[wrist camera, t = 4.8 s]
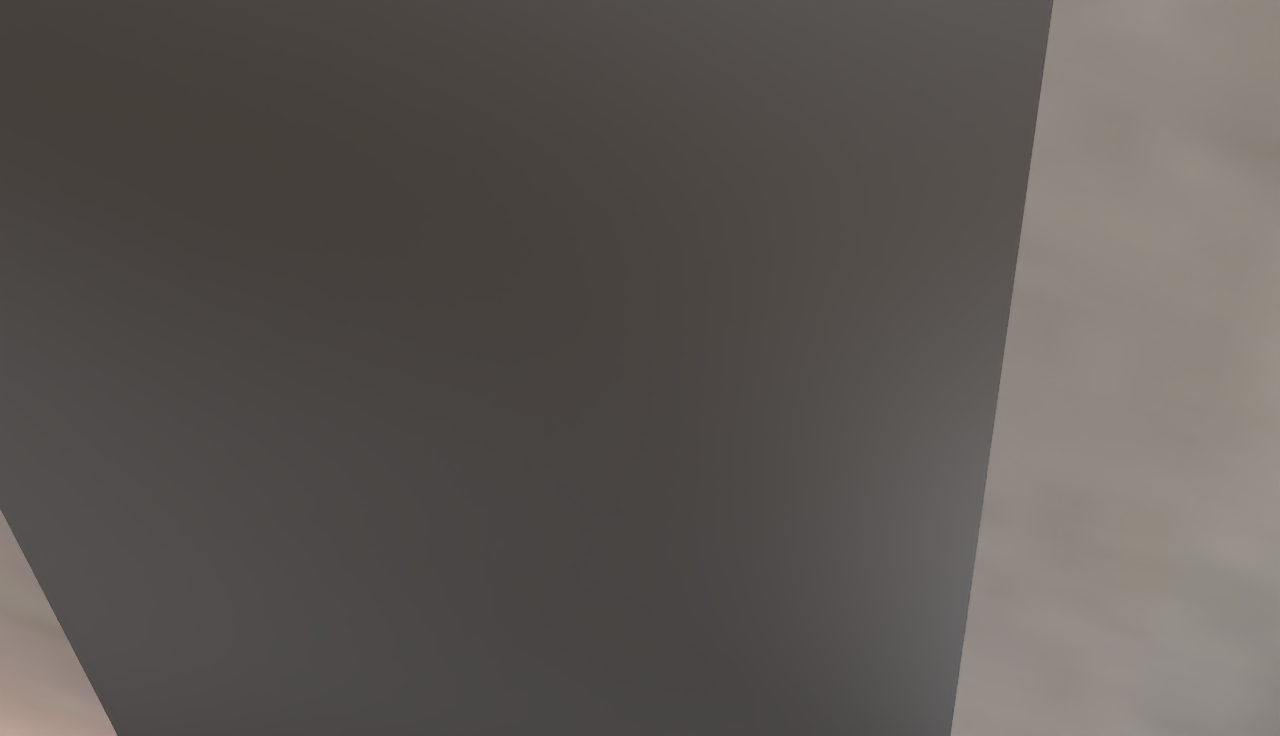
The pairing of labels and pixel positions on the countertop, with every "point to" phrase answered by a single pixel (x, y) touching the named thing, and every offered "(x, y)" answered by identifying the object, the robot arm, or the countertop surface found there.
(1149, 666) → the countertop surface
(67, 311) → the stand
